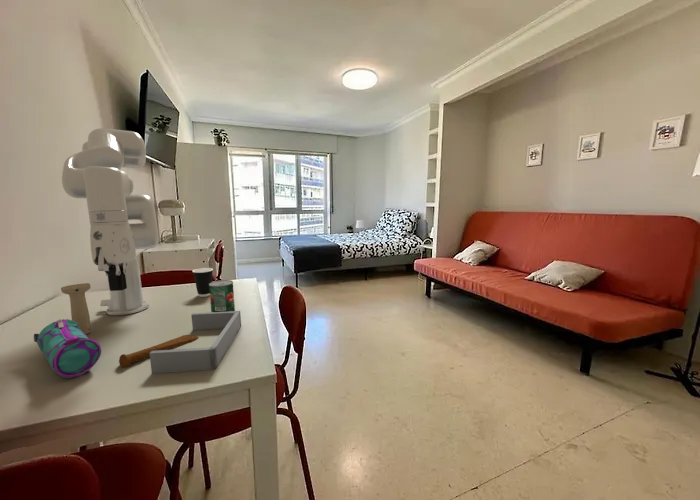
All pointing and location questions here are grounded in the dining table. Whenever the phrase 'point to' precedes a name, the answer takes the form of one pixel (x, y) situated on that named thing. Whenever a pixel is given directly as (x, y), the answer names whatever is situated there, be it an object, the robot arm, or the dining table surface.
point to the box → (199, 356)
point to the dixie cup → (203, 280)
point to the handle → (79, 305)
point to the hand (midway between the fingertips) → (118, 289)
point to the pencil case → (68, 348)
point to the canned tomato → (222, 296)
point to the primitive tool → (143, 354)
